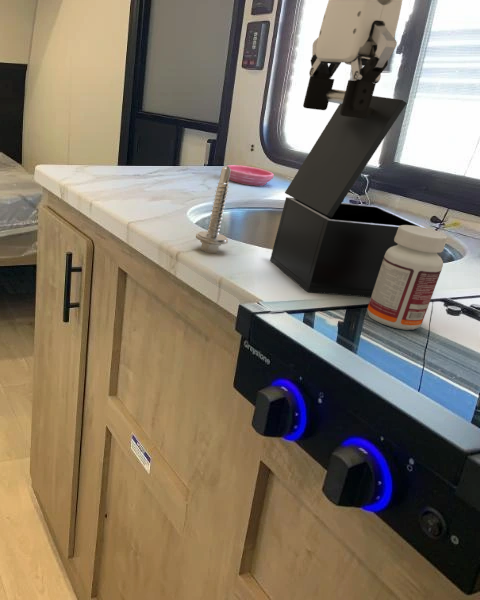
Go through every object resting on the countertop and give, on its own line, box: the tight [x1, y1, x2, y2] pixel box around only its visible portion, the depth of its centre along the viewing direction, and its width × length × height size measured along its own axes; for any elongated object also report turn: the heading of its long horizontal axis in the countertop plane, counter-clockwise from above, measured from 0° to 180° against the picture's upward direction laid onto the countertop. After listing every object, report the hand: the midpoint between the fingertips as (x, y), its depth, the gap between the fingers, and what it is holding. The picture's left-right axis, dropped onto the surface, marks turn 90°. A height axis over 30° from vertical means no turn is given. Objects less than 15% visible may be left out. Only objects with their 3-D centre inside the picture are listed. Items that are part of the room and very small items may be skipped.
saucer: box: [226, 164, 275, 187], centre depth 155 cm, size 12×12×3 cm
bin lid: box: [284, 88, 408, 218], centre depth 78 cm, size 15×13×5 cm
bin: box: [269, 196, 427, 298], centre depth 84 cm, size 15×13×10 cm
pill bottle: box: [366, 225, 448, 331], centre depth 71 cm, size 6×6×11 cm
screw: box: [195, 165, 231, 254], centre depth 89 cm, size 13×5×5 cm
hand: (332, 112), depth 76 cm, fingers open, 9 cm apart
